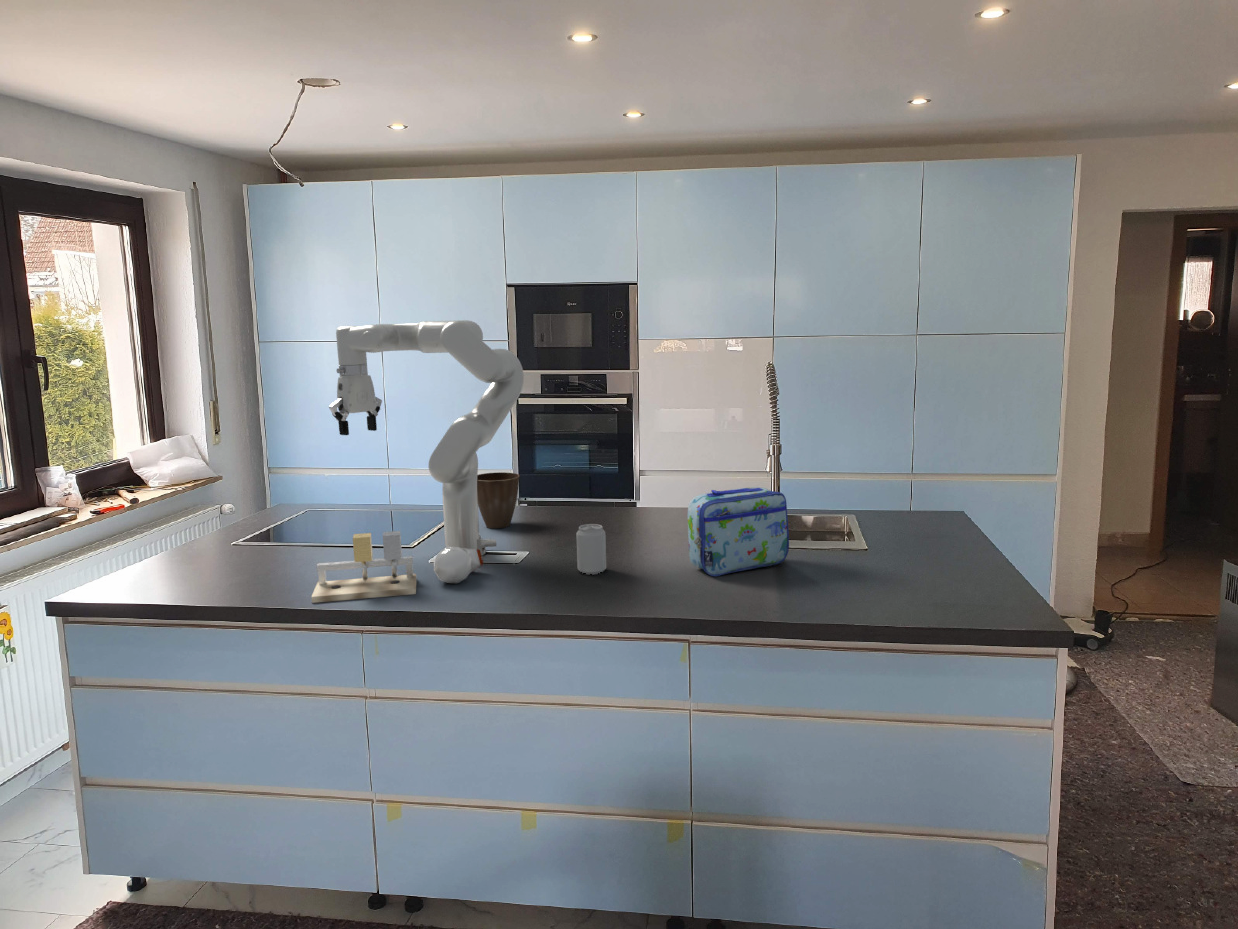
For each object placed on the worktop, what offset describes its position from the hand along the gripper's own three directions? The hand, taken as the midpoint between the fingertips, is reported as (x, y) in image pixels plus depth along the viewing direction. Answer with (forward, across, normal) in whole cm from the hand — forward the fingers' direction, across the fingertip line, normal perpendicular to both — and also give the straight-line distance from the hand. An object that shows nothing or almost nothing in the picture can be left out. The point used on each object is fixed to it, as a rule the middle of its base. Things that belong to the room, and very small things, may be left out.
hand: (358, 432), depth 246 cm
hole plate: (+35, -24, -28) cm, 51 cm away
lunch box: (+35, +38, -98) cm, 111 cm away
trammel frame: (+33, -23, -27) cm, 49 cm away
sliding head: (+32, -23, -27) cm, 48 cm away
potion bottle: (+35, -6, -41) cm, 54 cm away
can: (+35, +17, -67) cm, 77 cm away
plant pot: (+35, +42, -12) cm, 56 cm away
